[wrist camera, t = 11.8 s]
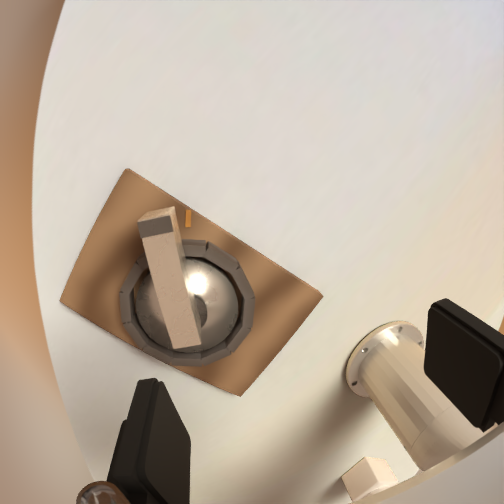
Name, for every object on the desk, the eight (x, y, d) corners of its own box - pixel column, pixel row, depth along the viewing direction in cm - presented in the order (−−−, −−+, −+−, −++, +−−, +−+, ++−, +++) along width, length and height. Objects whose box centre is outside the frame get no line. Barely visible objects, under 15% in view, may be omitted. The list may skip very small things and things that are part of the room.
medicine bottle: (340, 476, 48) (360, 521, 37) (364, 455, 47) (389, 501, 36) (361, 478, 50) (382, 518, 39) (385, 458, 49) (409, 499, 38)
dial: (244, 334, 33) (253, 372, 27) (154, 350, 32) (146, 390, 26) (217, 194, 28) (221, 203, 22) (114, 216, 28) (91, 231, 21)
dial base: (319, 290, 35) (331, 304, 31) (239, 389, 37) (242, 408, 34) (129, 167, 28) (119, 168, 25) (64, 295, 30) (51, 309, 27)
